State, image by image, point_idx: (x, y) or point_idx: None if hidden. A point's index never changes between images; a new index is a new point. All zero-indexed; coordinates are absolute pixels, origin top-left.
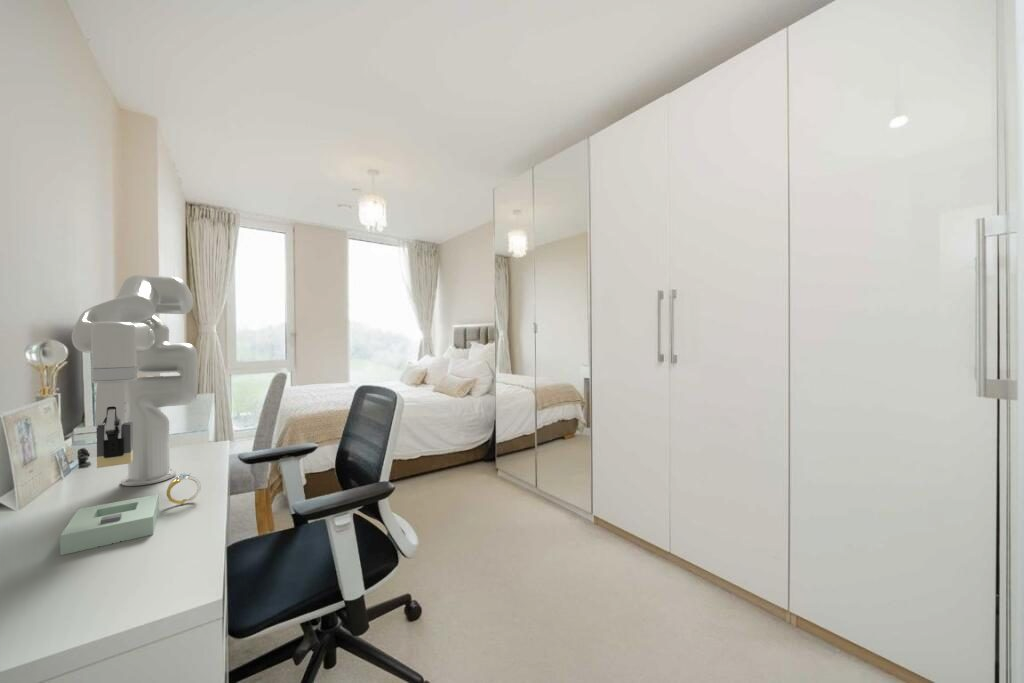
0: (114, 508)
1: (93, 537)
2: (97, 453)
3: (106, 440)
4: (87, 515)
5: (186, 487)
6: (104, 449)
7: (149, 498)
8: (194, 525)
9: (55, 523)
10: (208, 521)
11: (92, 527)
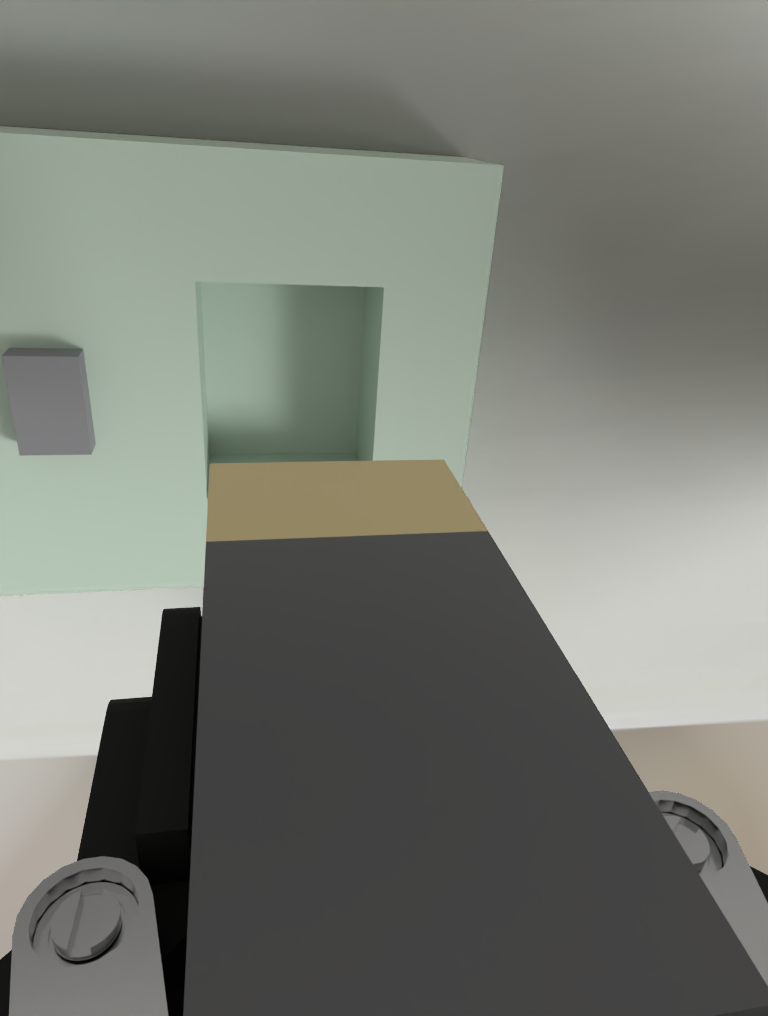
0: (375, 373)
1: None
2: (209, 577)
3: (70, 884)
4: (279, 243)
5: (716, 603)
6: (156, 699)
7: None
8: (44, 680)
9: (642, 3)
10: (66, 724)
11: None
